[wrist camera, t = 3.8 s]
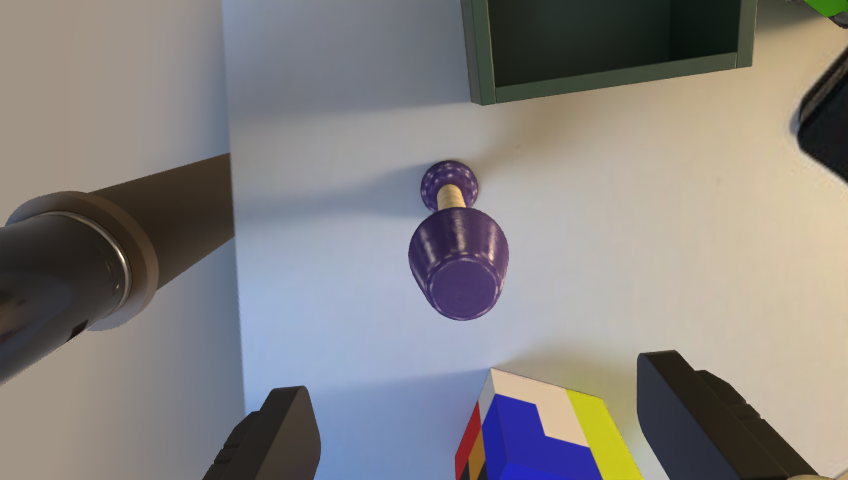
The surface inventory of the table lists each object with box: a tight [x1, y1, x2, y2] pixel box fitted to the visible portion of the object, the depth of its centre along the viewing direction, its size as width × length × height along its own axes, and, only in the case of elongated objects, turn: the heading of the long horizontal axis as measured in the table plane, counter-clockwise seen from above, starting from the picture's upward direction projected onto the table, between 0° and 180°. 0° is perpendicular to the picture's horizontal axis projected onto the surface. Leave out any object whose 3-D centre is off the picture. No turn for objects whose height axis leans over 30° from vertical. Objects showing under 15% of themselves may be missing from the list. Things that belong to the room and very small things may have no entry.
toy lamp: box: [408, 161, 509, 321], centre depth 25 cm, size 5×5×17 cm
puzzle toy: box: [455, 368, 644, 480], centre depth 35 cm, size 10×10×10 cm
